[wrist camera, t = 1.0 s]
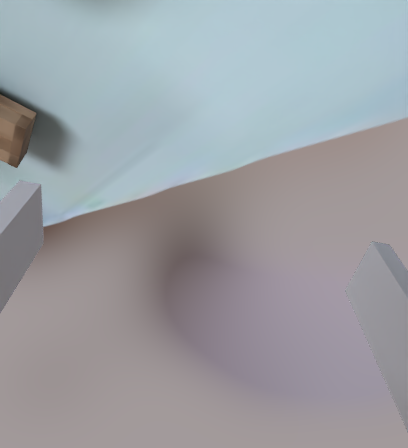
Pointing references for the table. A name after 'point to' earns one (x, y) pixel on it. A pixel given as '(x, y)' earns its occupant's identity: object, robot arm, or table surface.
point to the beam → (14, 130)
